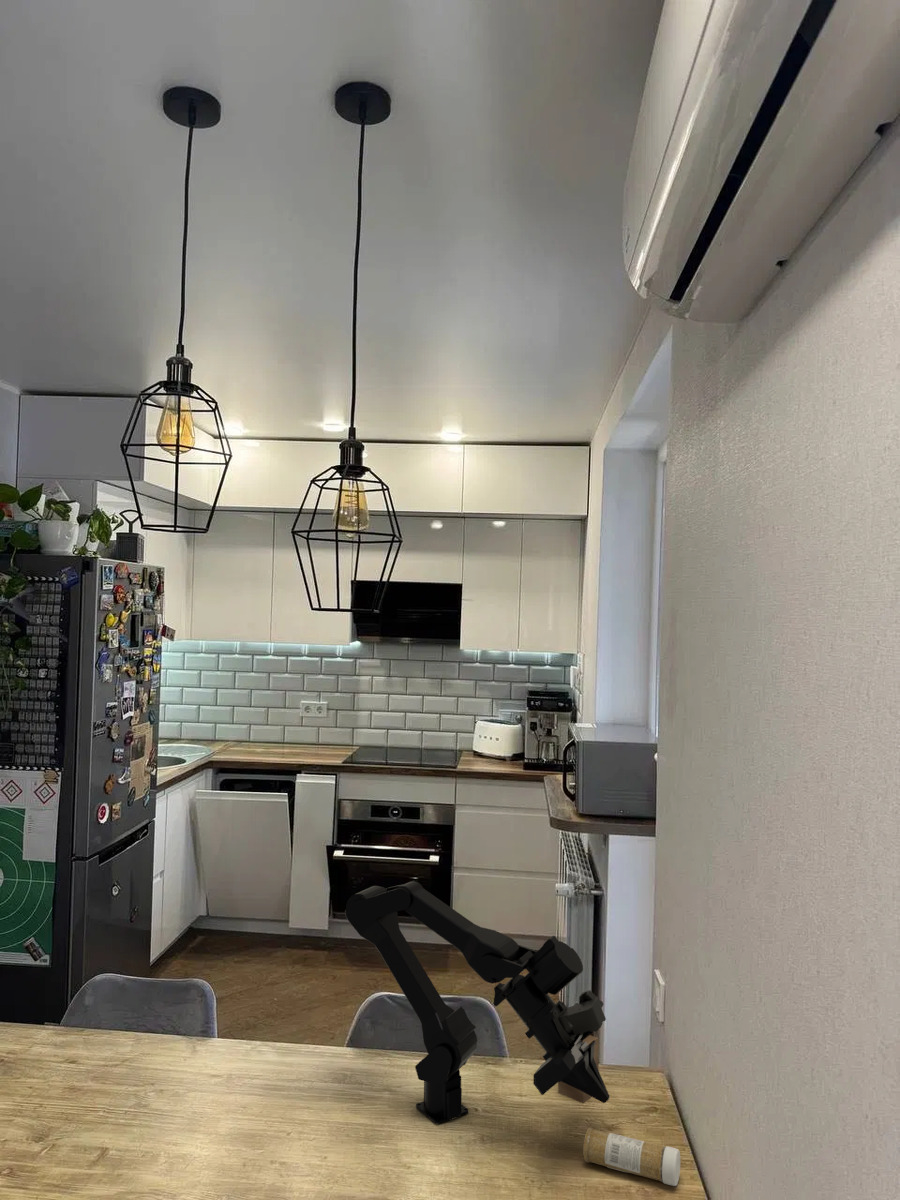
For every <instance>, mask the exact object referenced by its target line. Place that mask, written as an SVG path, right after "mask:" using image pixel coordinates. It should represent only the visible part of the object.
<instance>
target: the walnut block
mask: <svg viewBox="0 0 900 1200" xmlns="http://www.w3.org/2000/svg"><path fill="white" fill-rule="evenodd" d="M594 1040H595V1046H594V1060H595V1063H596V1066H597V1068H598V1070H599V1069H600V1068H599V1059H600V1058H599V1054H600V1053H599V1051H600V1049H599V1045H600V1044H599V1037H597V1036H594V1035H591V1034H590V1035H589V1036H588V1037H587V1038H585V1039H584V1040H583V1042H585V1041H586V1043H587V1044H588V1045H589V1044H590V1043H591V1042H592V1041H594ZM599 1071H600V1070H599ZM557 1086H558V1087H557V1093H558V1094H559V1095H562V1096H564V1097H567V1098H569V1099H572V1100H574V1101H577V1102H579V1103H581V1104H585V1103H586V1102H587V1101H588V1100H590V1099H591V1098H593V1097H592V1096H590V1095H588V1094H586V1093H584V1092H582V1091H580V1090H578V1089H576V1088H574V1087H572V1086H570V1085H568V1084H565V1083H563V1082H559V1083H558V1084H557Z"/></svg>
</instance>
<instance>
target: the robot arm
mask: <svg viewBox="0 0 900 1200" xmlns="http://www.w3.org/2000/svg"><path fill="white" fill-rule="evenodd" d="M400 911H404V912H406V913H407V914H409V915H410V916H412V917H413V918H414V919H416V920H417V921H419V922H420V923H421V924H422V925H423V926H425V927H427V928H428V929H430V931H432V932H434V933H435V934H437V936H439V937H441V938H442V939H443V940H445V941H446V942H447V943H449V944H450V945H452V946H453V947H454V948H456V949H457V950H458V951H459V952H460V953H461V954H462V956H463V957H464V959H465V961H466V963H467V964H468V966H469V967H470V969H472V971H474V972H475V973H476V974H477V976H479V977H480V978H481V979H482V980H483V981H484V982H487V983H489V984H496V985H495V986H494V988H493V990H494V991H493V992H494V997H493V1006H495V1007H498V1006H499V1005H501V1003H502V1002H504V1001H507V1003H508V1005H510V1007H511V1008H512V1010H513V1011H514V1012H515V1014H516V1015H517V1016H518V1018H519V1019H520V1020H521V1021H522V1023H523V1024H524V1025H525V1027H526V1028H527V1031H526V1032H525V1033H524V1035H525V1036H526V1037H527V1038H528V1040H530V1039H531V1038H532V1037H534V1039H535V1040H536V1041H537V1043H538V1044H539V1045H540V1047H541V1048H542V1049H543V1051H544V1052H545V1053H544V1054H543V1056H542V1058H543V1059H544V1060H545V1061H544V1062H543V1063H541V1065H540V1066H539V1067H538V1068H537V1070H536V1071H535V1072H534V1073H533V1082H532V1083H533V1084H532V1085H534V1087H535V1088H536V1089H537V1090H538V1092H539V1094H540V1095H541V1096H543V1095H545V1094H546V1093H547V1092H548V1091H550V1090H551V1089H552V1088H553V1087H555V1085H557V1083H559V1082H563V1083H565V1084H568V1085H570V1086H572V1087H574V1088H576V1089H578V1090H580V1091H582V1092H584V1093H586V1094H588V1095H590V1096H592V1097H591V1098H593V1099H595V1100H597V1101H598V1102H601V1103H603V1104H606V1103H607V1102H609V1100H610V1097H611V1096H610V1094H609V1091H608V1090H607V1086H606V1085H605V1083H604V1079H603V1078H602V1074H600V1070H598V1068H597V1066H596V1063H595V1060H594V1046H595V1040H594V1041H592V1042H591V1043H590V1044H589V1045H588V1044H587V1043H586V1041H585V1042H583V1040H584V1039H585V1038H587V1037H588V1036H589V1035H591V1034H592V1033H594V1032H595V1033H596V1032H597V1031H599V1030H600V1029H601V1028H602V1027H603V1026H602V1025H603V1022H605V1021H606V1020H607V1018H606V1016H605V1014H604V1013H605V1012H603V1007H604V1002H603V1001H602V1000H600V997H599V996H596V994H595V993H593V991H592V990H589V989H588V990H586V991H583V992H582V993H580V995H579V997H578V999H579V1000H578V1002H576V1003H575V1004H574V1005H572V1006H571V1005H570V1006H567V1005H566V1004H565V1003H564V1002H563V1001H561V1000H558V1001H557V1002H555V1001H554V1000H553V998H552V997H551V996H550V994H551V995H554V996H555V995H558V994H559V993H560V992H561V991H562V990H563V989H565V988H566V987H567V986H568V985H569V984H570V983H571V982H573V981H574V980H575V979H576V978H577V977H578V976H579V975H580V974H582V973H583V972H584V965H583V962H582V960H581V958H580V956H579V954H578V953H577V951H576V950H575V949H574V948H573V947H571V946H569V945H568V944H567V943H565V942H564V941H559V939H558V938H557V937H556V936H555V935H552V936H551V937H549V938H548V939H547V940H546V941H545V942H544V943H543V944H542V946H541V947H540V948H539V949H538V950H535V949H532V948H530V947H526V946H523V945H520V944H518V943H517V942H516V941H515V939H513V938H511V937H509V936H508V935H506V934H504V933H501V932H499V931H497V930H496V929H491V928H486V927H483V926H479V925H478V924H475V923H473V922H472V921H471V920H469V919H468V918H467V917H465V916H464V915H462V914H460V913H459V912H458V911H456V910H455V909H453V908H452V907H450V905H448V904H447V903H445V902H443V901H442V900H441V899H439V898H438V897H436V896H435V895H433V893H431V892H430V891H428V890H426V889H425V888H424V887H423V885H422V884H421V883H419V882H418V881H408V882H407V883H404V884H399V885H395V886H390V887H387V888H385V887H384V886H379V885H372V886H370V887H368V888H366V889H364V890H361V891H359V892H357V893H354V894H352V895H351V896H350V897H349V898H348V899H347V901H346V905H345V910H344V914H345V917H346V920H347V921H348V923H349V924H350V926H352V928H353V929H354V930H355V931H356V932H357V934H358V935H359V936H360V937H362V938H363V939H364V940H366V941H368V942H369V943H370V944H372V945H374V946H375V948H376V949H377V951H378V952H379V954H380V956H381V957H382V959H383V961H384V963H385V964H386V966H387V967H388V970H389V971H390V972H391V975H392V976H393V977H394V980H395V981H396V983H397V984H398V986H399V988H400V989H401V992H402V993H403V995H404V996H405V998H406V1000H407V1001H408V1003H409V1004H410V1006H411V1008H412V1010H413V1011H414V1013H415V1015H416V1016H417V1018H418V1020H419V1022H420V1025H421V1032H422V1033H421V1034H422V1039H423V1040H422V1041H423V1045H424V1047H425V1051H426V1052H427V1055H426V1056H425V1057H423V1058H422V1059H421V1060H420V1061H419V1062H418V1063H417V1064H416V1065H415V1071H416V1076H417V1079H418V1080H419V1081H422V1082H423V1100H422V1101H420V1102H417V1103H415V1108H416V1109H417V1110H418V1111H420V1112H421V1113H422V1114H423V1115H424V1116H426V1118H428V1119H429V1120H430V1121H431V1122H433V1123H434V1124H436V1125H440V1124H442V1123H445V1122H448V1121H451V1120H453V1119H456V1118H460V1117H463V1115H467V1114H469V1108H468V1107H466V1106H465V1105H464V1104H462V1100H463V1099H462V1096H463V1095H462V1093H463V1091H462V1090H463V1089H462V1075H461V1072H460V1069H461V1068H462V1067H464V1066H466V1064H467V1063H468V1060H469V1059H470V1058H471V1057H472V1056H473V1055H474V1054H475V1052H476V1051H477V1049H478V1048H477V1046H478V1036H477V1033H476V1032H475V1029H476V1028H477V1027H476V1025H474V1024H473V1023H472V1021H471V1020H470V1019H469V1017H468V1015H467V1013H466V1010H465V1009H464V1008H463V1007H462V1006H459V1007H458V1008H457V1009H455V1010H454V1009H453V1008H452V1007H450V1006H449V1005H447V1004H446V1003H445V1001H444V1000H443V997H441V995H440V993H439V992H438V990H437V988H436V987H435V985H434V983H433V982H432V980H431V978H430V977H429V975H428V974H427V972H426V971H425V968H424V967H423V966H422V963H421V962H420V960H419V959H418V957H417V956H416V954H415V952H414V951H413V949H412V947H411V946H410V944H409V942H408V940H407V939H406V938H405V936H404V935H403V933H402V931H401V929H400V923H399V916H398V914H399V913H398V912H400ZM525 970H526V971H527V973H526V974H525V975H523V974H521V973H522V972H524V971H525ZM505 979H509V980H508V981H507V982H506V983H501V982H502V981H503V980H505ZM497 983H498V984H497Z"/></svg>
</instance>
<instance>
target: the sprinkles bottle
mask: <svg viewBox="0 0 900 1200" xmlns="http://www.w3.org/2000/svg"><path fill="white" fill-rule="evenodd" d="M582 1149H583V1155H582V1156H583V1159H584V1161H585V1162H586V1163H593V1164H596V1165H600V1166H603V1167H607V1168H608V1169H612V1170H616V1171H619V1172H623V1173H627V1174H629V1173H630V1174H633V1175H635V1176H640V1177H643V1178H649V1179H652V1180H656V1181H660V1182H661V1183H663V1184H665V1185H667V1186H668V1185H669V1186H672V1187H676V1186H677V1185H678V1184H679V1179H680V1175H681V1174H680V1173H681V1153H680V1152H681V1151H680V1150H679V1149H678V1148H675V1147H672V1146H668V1145H666V1146H665V1145H663V1146H662V1145H659V1144H654V1143H650V1142H647V1141H644V1140H640V1139H636V1138H632V1137H628V1136H625V1135H620V1134H617V1133H612V1132H606V1131H603V1130H599V1129H595V1128H594V1127H591V1126H590V1127H589V1128H588V1129H587V1130H586V1132H585V1136H584V1141H583V1148H582Z"/></svg>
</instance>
